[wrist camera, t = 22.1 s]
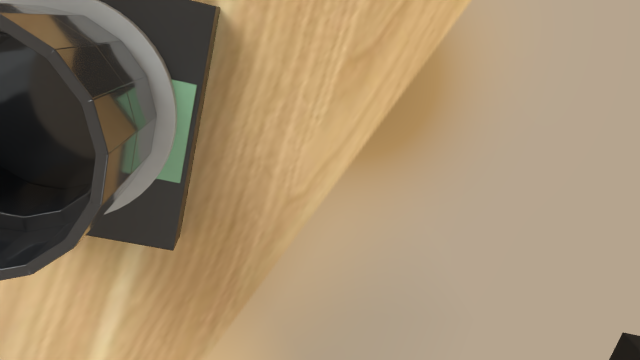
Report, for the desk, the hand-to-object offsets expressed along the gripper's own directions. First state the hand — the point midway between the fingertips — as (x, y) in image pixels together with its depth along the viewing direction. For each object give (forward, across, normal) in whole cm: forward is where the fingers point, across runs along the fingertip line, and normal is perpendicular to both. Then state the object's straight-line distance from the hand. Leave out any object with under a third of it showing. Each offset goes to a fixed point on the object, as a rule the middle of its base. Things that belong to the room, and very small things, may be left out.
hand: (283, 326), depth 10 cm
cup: (+21, -13, -4) cm, 25 cm away
